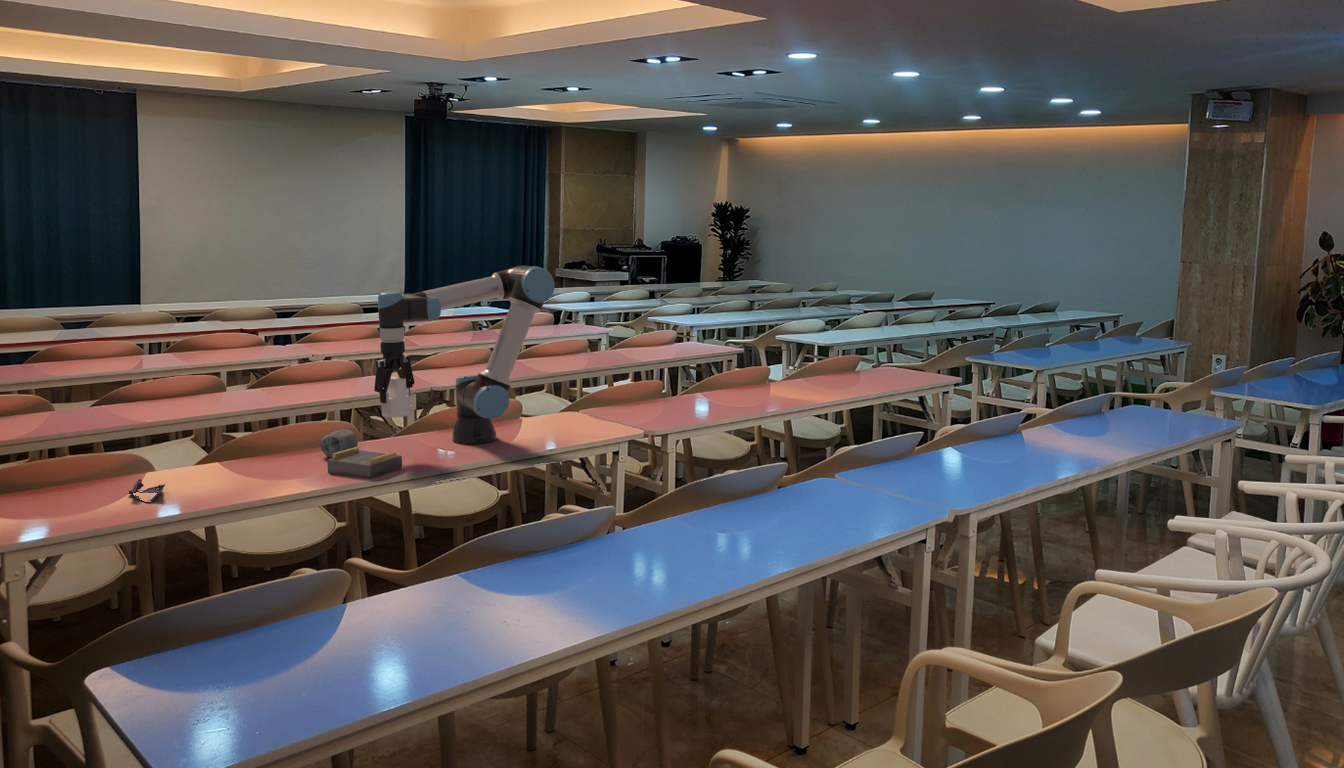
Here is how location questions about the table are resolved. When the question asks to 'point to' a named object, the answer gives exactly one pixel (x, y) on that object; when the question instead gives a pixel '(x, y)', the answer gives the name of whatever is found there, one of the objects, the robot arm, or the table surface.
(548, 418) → the table surface
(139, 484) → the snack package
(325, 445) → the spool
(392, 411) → the base with upright slab
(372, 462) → the dark grey flat block
